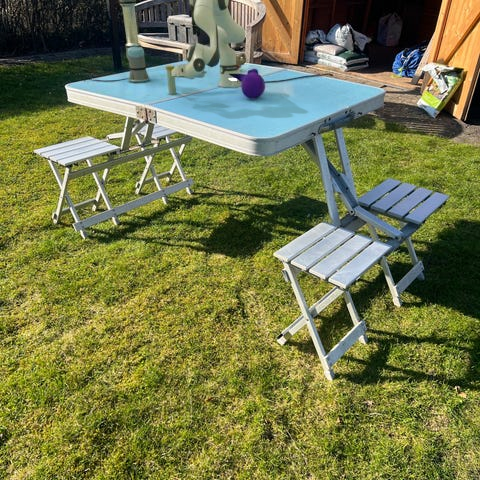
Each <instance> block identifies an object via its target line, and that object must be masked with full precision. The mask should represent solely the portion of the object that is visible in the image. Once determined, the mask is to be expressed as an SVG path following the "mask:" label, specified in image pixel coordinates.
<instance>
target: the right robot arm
mask: <svg viewBox="0 0 480 480" xmlns="http://www.w3.org/2000/svg"><path fill="white" fill-rule="evenodd" d="M229 2H230V1H229V0H193V6H194V21H195V23H196V24H197V26H198V27H200V30H202V31H203V32H205V33H206V34H207V36H208V37H209V46H210V47H209V46H208V45H204V44H202V43H198V42H192V43H191V45H189V47H188V49H187V52H186V60H187V63H184V64H177V65H176V66H174V67H175V68H174V69H172V71H171V75H172V77H175V78H185V79H188V80H195V79H196V78H197V79H201V78H204V77H205V76H206V74H208V71H206V70H205V69H206V66H207V67H210V68H214V67H217V66H218V65H219V73H220V76H219V83H218V86H219V87H221V88H241V85H242V82H241V81H239V80H238V79H236V78H234V77H232V76H230V75H229V74H244V73H243V72H242V71H241V70H240V69H241V68H242V65H237V64H236V54H237V53H236V51H235V50H234V49H233V48H231V46H230V44H240V43H243V42H244V41H245V39H246V34H247V32H246V29H245V28H244V27H243V26H242V25H240V24H238V23H237V22H236V21H235V19H234V18H233V17H232V16H231V13H230V10H229V8H228V7H229ZM238 68H239V69H238ZM323 76H331V77H334V75H333V74H332V73H329V72H328V73H327V72H326V73H323V74H311V75H303V76H297V77H292V78H286V79H280V80H279V79H278V80H266V81H265V80H264V81H265V84H269V83H271V84H272V83H280V82H281V83H282V82H287V81H293V80H298V79H303V78H304V79H305V78H312V77H323Z"/></svg>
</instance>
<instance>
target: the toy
mask: <svg viewBox="0 0 480 480" xmlns="http://www.w3.org/2000/svg"><path fill="white" fill-rule="evenodd" d="M229 75H230V76H232V77H234V78H236V79H238V80H239V81H241V82H242V85H241V86H240V88H241V92H242V94H243V96H245V97H246V98H248V99H253V100H257V99H259V98H260V97H261V96H262V95H263V94H264V92H265V90H266V83H265V79H264V78H263V76H262V75H260V74H259V71H258V69H257V68H252V69H248V70H247V73H243V74H229Z"/></svg>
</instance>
